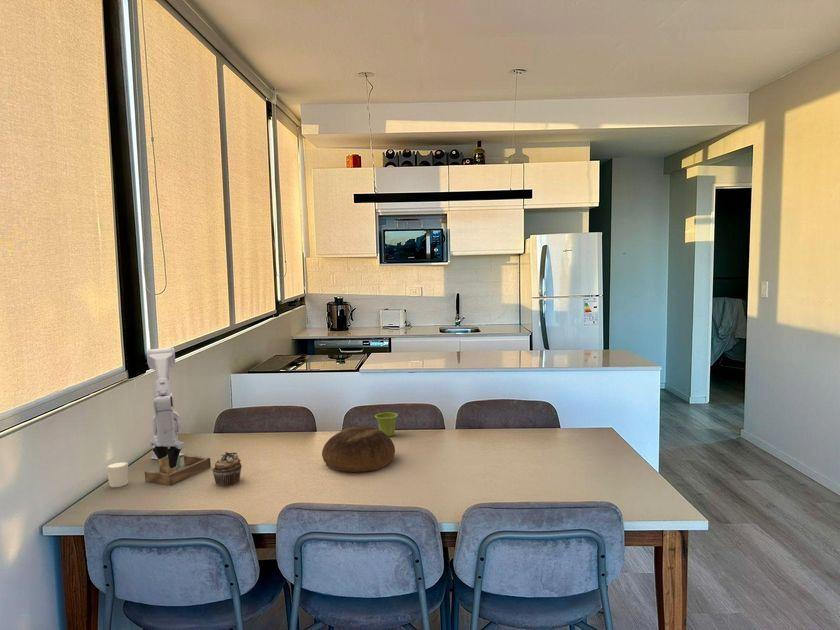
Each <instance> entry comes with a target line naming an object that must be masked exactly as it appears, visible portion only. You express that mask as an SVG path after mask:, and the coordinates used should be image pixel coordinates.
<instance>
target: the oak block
mask: <svg viewBox="0 0 840 630" xmlns="http://www.w3.org/2000/svg"><path fill="white" fill-rule="evenodd" d="M157 460H158V468H159V469H158V470H159V472H158V473H165V474H172V473H174V472H176V471H178V470H177V469H178V468H177V466H176V467H174V468H170V465H169V459H168V456H166V457H163V458H161V459H157Z"/></svg>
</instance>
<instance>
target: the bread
mask: <svg viewBox="0 0 840 630" xmlns="http://www.w3.org/2000/svg"><path fill="white" fill-rule="evenodd" d="M321 450H322V451H321V457H322V460H323V462H324V463H325V464H326V466H328V467H329V468H331V469H334V470H337V471H340V472H345V473H363V472H370V471H371V472H372V471H376V470H379V469H380V470H381V469H382V468H385V467H386V466H388V465H389V464H390V463H391V462H392V461H393V459H394V458H395V454H396V447H395V444H394V442H393V440H392V439H391V438H390V437H388V436H387V435H386V434H385V433H384V432H382V431H380V430H379V428H376V427H373V426H370V425H355V426H353V427H352V426H351V427H347V428H345V429H341V430H340V431H339V432H337V433H336V434H334V435H333V436H331V437H330V438H329V439H328V440H327V441H326V442H325V444H324V445H323V447H322V449H321Z"/></svg>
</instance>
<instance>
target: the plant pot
mask: <svg viewBox="0 0 840 630" xmlns="http://www.w3.org/2000/svg"><path fill="white" fill-rule="evenodd" d="M397 417H399V415H398V413H396V412H381V413H377V414H376V415H375V418H376V421H377V424H378V430H380V431H382V432H384V433H385V434H386V435H387V436H388V437H389V438H390V437H393V436H395V431H396V423H397V421H396V420H398V419H397Z"/></svg>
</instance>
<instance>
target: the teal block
mask: <svg viewBox="0 0 840 630" xmlns="http://www.w3.org/2000/svg"><path fill="white" fill-rule="evenodd" d="M167 456H168V455H167ZM180 457H181V456H180V455H178V459H177V464H176V466H177V469H178V468H180V467H181V458H180Z"/></svg>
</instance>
